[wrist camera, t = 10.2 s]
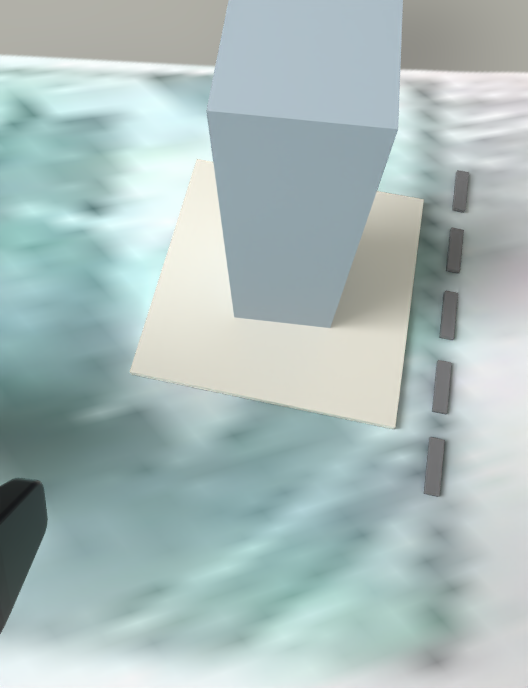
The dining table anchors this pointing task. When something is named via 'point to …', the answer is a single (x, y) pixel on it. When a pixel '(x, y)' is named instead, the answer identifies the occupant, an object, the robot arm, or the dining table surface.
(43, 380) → the dining table surface
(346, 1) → the stub block
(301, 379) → the coaster
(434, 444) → the perforation line
